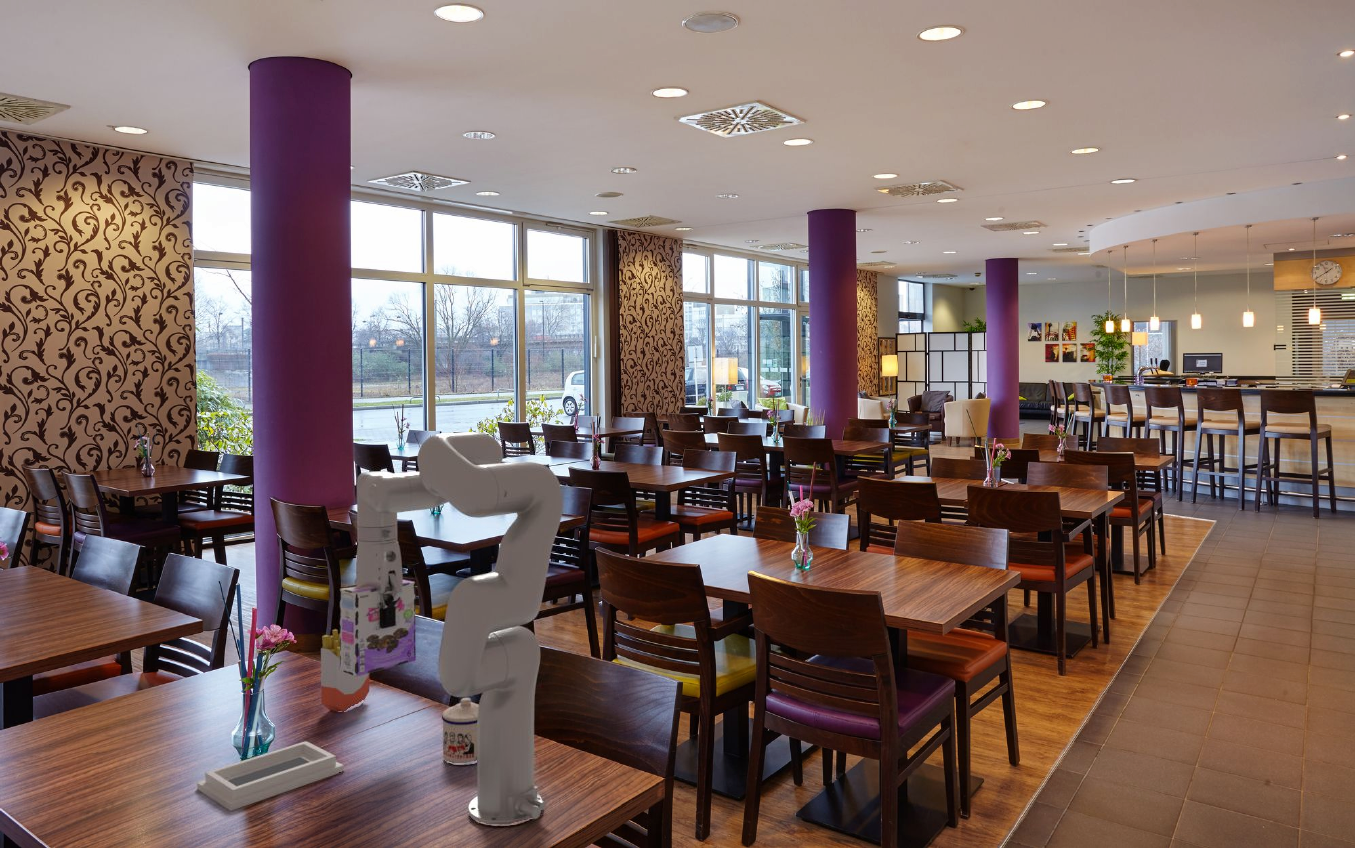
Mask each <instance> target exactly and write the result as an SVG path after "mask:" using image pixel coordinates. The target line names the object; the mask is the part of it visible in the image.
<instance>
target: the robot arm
mask: <svg viewBox="0 0 1355 848" xmlns="http://www.w3.org/2000/svg"><path fill="white" fill-rule="evenodd" d="M417 453H418V454H417V466H418V467H417V468H418V471H412V472H411V471H408V472H399V473H393V472H390V471H384V470H383V471H377V470H376V471H367V472H362V473H360V474H359V475H358V477H357V478H356V479H357V480H356V510H357V511H356V512H357V513H356V518H357V519H356V520H357V523H356V524H357V525H356V526H357V529H356V530H357V549H356V563H355V579H354V584H355V587H357V586H362V585H364V586H369V587H372V588H375V589H376V590H377V593H379V594H380V601H381V605H382V608H380V628H382V629H384V628H388V627H393V626H395V625H396V606H397V601H398V600H399V597H400V596H401V594H402V587H403V580H404V579H403V567H402V566H403V565H402V555H401V548H400V545H399V541H398V513H403V512H413V511H425V510H429V509H433V508H437V507H439V506H442V505H444V504H447V503H449V504H450V505H451V506H453V508H455V509H456V510H457V511H458V512H460V513H461V514H463V515H464V516H466V517H469V518H470V517H471V518H475V519H476V518H478V519H479V518H480V519H481V518H488V517H497V516H503V515H505V516H506V515H511V514H512V515H513V514H516V515H517V516H516V519H514V521H513V522H512V524H511V525H510V526H509V527H508V529H507V530H506V532H505V533H504V535H503V537H502V539H501V542H500V543H499V547H498V553H497V559H496V563H495V567H494V569H492V571H490V572H488V573H482V574H478V575H473V576H469V577H467V578H464V579H463V580H461V581H460V582H459V583H457V584H456V585H455V586H454V588H452V589H453V590H452V592H451V593H450V595H449V597H448V601H447V607H446V612H445V617H444V622H443V623H444V624H443V629H442V633H441V634H442V635H441V642H440V647H439V655H438V669H437V670H438V675H439V680H440V684H441V685H442V688H443V689H444V690H445V692H447V694H449V695H450V696H453V697H456V698H469V697H472V696H475V695H480V694H481V697H480V700H479V701H478V702H479V703H478V705H479V707H478V717H477V764H476V765H477V771H476V772H477V774H476V775H477V777H476V779H477V781H476V783H477V784H476V785H477V789H476V790H477V793H476V797H474V798H473V799H472V800H471V801H470V802H469V804H468V807H467V812H468V813H469V815H470V816H471V818H473V819H474V820H478V821H479V822H484V823H486V824H511V823H514V822H519V821H522V820H526V819H528V818H533V819H532V820H536V819H538V818H539V817H540V815H541V813H542V811H543V810H545V808H546V807H547V802H546V801H544V800H543V798H542V797H541V795H540V794H538V786H535V694H536V686H537V685H536V684H537V679H538V673H539V669H540V663H541V647H540V643H539V639H538V638H537V636H536V635H535V633H534V632H532V631H531V630H530V629H528V628H527V627H524V626H523V625H526V624H528V623H530V622H532V621H533V620H535V618H537V616H538V614H539V613H540V609H541V606H542V603H543V602H542V601H543V596H544V591H545V587H546V581H547V575H548V571H549V567H550V565H549V564H550V558H551V553H552V549H553V545H554V543H555V539H556V536H557V533H558V531H559V527H560V524H561V520H562V515H563V511H564V510H563V509H564V497H563V491H562V487H561V483H560V482H559V481H560V480H559V479H558V477H557V476H556V474H555V473H554V472H553V470H551V469H550V468H549V467H548V466H546V465H545V464H541V463H538V462H531V461H513V462H503V459H504V458H503V453H504V452H503V449H502V446H501V445H500V443H499V442H498V441H497V439H495V438H494V437H493V436H491V435H489V434H487V433H483V432H473V431H472V432H450V433H449V432H448V433H446V432H445V433H437V434H434V435H433V434H432V435H431V436H430V437H428V438H426V440H424V442H423V443H422V444H421V445H420V447H419V449H418V452H417ZM387 588H390V591H386V590H385V589H387ZM389 594H390V596H389V597H388V598H387V600H386V597H385V595H389ZM541 810H542V811H541ZM468 813H467V814H468ZM469 815H468V816H469ZM471 818H470V819H471Z"/></svg>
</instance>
